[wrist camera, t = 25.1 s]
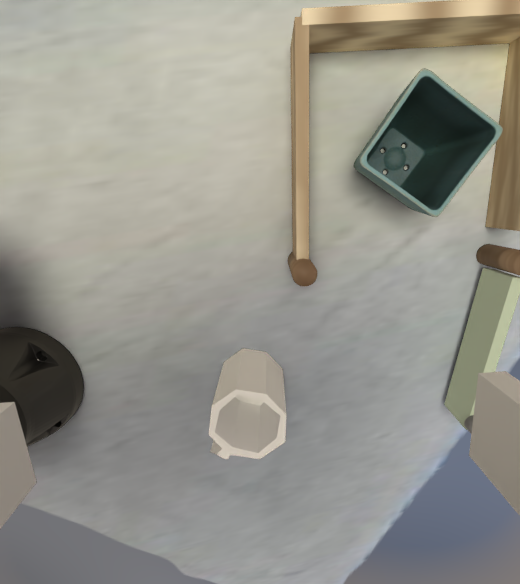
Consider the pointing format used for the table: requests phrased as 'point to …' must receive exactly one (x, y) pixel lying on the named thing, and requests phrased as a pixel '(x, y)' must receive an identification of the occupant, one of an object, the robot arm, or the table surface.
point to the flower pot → (428, 145)
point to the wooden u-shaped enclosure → (399, 35)
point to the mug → (248, 406)
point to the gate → (482, 340)
